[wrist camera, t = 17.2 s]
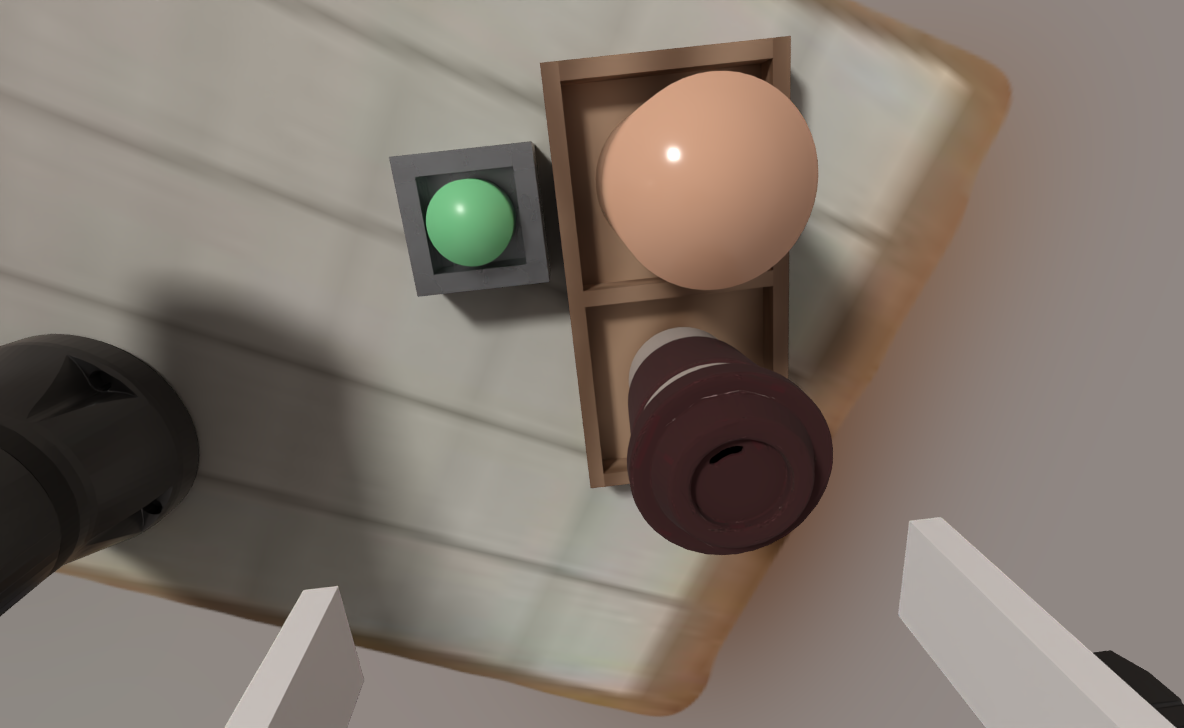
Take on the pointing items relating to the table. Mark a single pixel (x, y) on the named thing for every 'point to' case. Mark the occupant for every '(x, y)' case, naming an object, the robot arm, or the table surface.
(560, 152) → the divided tray
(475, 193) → the button
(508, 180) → the grey square frame
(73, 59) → the table surface
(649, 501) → the coffee cup
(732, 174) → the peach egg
